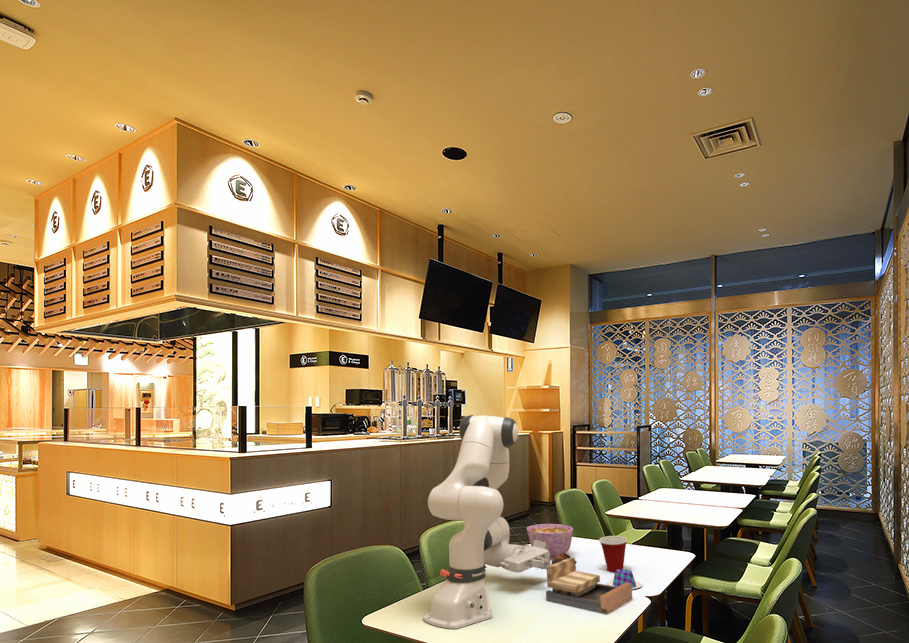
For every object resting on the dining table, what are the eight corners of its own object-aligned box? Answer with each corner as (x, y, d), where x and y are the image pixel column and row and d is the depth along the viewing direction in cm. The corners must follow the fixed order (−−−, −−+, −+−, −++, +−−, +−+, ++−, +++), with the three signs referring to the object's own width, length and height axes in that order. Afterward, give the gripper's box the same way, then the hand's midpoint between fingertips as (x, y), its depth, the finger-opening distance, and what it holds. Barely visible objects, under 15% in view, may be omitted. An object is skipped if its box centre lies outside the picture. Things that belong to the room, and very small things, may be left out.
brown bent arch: (552, 568, 238) (562, 550, 239) (572, 583, 232) (582, 564, 233) (541, 567, 229) (551, 548, 229) (561, 582, 223) (572, 563, 224)
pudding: (648, 585, 213) (647, 570, 213) (630, 593, 204) (629, 577, 205) (618, 579, 221) (617, 564, 222) (600, 586, 213) (599, 571, 214)
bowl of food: (548, 548, 270) (547, 522, 271) (584, 556, 254) (582, 528, 256) (517, 556, 257) (516, 528, 259) (553, 565, 242) (552, 535, 243)
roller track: (607, 614, 184) (606, 597, 184) (546, 600, 198) (545, 584, 199) (632, 599, 197) (631, 583, 198) (573, 587, 212) (573, 572, 212)
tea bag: (543, 569, 235) (542, 543, 237) (532, 566, 241) (530, 540, 242) (550, 568, 237) (549, 542, 239) (538, 564, 243) (537, 539, 244)
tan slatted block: (576, 600, 192) (575, 572, 193) (547, 594, 199) (546, 567, 200) (600, 588, 204) (598, 561, 205) (572, 582, 211) (570, 557, 212)
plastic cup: (594, 570, 232) (593, 538, 233) (610, 565, 239) (609, 534, 240) (619, 576, 224) (617, 543, 225) (634, 570, 231) (632, 538, 232)
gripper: (496, 554, 211) (529, 560, 203) (528, 543, 227) (560, 548, 218) (497, 573, 211) (529, 580, 202) (529, 560, 226) (561, 566, 217)
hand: (546, 563), depth 210 cm, fingers closed
